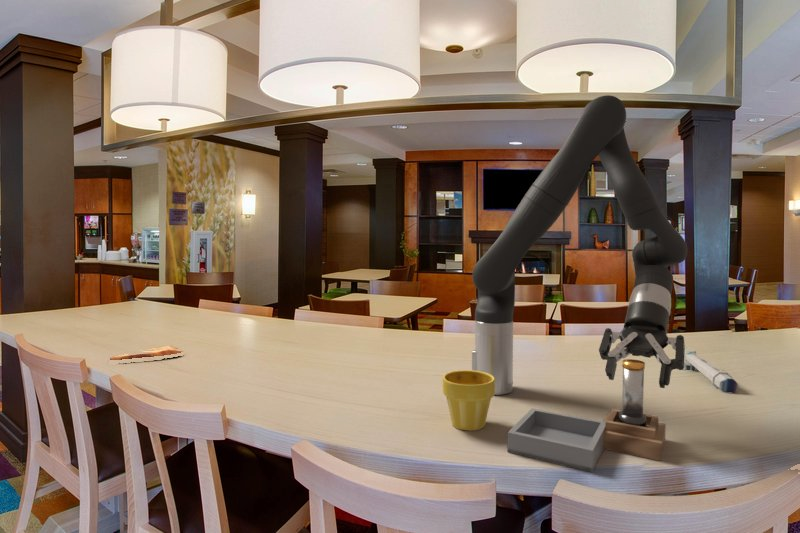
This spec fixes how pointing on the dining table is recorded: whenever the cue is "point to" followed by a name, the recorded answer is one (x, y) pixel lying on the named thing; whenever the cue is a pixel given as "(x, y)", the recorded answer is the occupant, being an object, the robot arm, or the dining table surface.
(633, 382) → the gold-capped glass canister
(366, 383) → the dining table surface
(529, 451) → the tray
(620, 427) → the brown square open box
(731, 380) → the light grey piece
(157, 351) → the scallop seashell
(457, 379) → the plant pot
